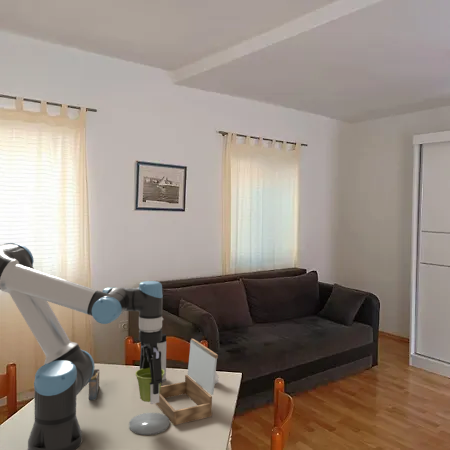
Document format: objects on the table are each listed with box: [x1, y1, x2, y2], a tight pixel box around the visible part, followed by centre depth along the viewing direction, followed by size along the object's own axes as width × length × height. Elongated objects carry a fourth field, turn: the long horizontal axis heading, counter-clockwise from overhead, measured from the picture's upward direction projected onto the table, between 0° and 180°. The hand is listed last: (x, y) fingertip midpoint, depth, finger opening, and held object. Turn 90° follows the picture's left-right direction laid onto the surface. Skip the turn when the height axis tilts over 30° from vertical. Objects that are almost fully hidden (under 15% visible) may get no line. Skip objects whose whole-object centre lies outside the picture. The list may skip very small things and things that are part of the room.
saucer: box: [128, 412, 170, 436], centre depth 145 cm, size 13×13×1 cm
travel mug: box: [157, 333, 167, 384], centre depth 181 cm, size 6×7×20 cm
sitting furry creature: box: [195, 371, 220, 387], centre depth 180 cm, size 10×9×12 cm
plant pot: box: [134, 368, 165, 403], centre depth 144 cm, size 9×9×9 cm
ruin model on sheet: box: [88, 368, 100, 400], centre depth 168 cm, size 11×3×10 cm, turn 10°
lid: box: [187, 338, 219, 396], centre depth 161 cm, size 14×21×1 cm
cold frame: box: [154, 374, 213, 426], centre depth 157 cm, size 14×22×7 cm, turn 28°
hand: (150, 397), depth 144 cm, fingers closed on plant pot, 8 cm apart
